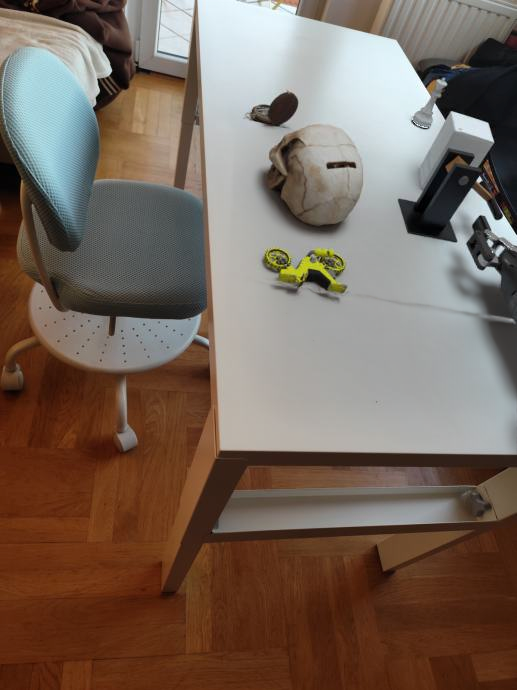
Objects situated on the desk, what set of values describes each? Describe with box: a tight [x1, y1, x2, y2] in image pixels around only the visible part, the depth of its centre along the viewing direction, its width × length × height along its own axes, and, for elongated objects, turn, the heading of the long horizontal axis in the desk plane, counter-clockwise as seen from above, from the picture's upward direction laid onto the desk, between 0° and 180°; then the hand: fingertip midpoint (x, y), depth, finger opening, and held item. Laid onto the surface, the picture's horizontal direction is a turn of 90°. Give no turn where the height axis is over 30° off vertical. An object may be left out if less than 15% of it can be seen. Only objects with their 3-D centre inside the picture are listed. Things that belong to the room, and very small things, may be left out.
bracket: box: [397, 148, 483, 244], centre depth 79 cm, size 9×9×13 cm
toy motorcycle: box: [263, 247, 349, 294], centre depth 67 cm, size 12×4×7 cm
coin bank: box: [266, 123, 364, 227], centre depth 76 cm, size 16×17×13 cm
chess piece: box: [412, 77, 448, 127], centre depth 104 cm, size 4×4×10 cm
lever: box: [445, 156, 504, 221], centre depth 77 cm, size 11×9×2 cm
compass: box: [244, 89, 299, 127], centre depth 90 cm, size 8×8×7 cm
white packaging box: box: [418, 110, 495, 191], centre depth 87 cm, size 7×7×13 cm
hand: (502, 224), depth 76 cm, fingers open, 8 cm apart
